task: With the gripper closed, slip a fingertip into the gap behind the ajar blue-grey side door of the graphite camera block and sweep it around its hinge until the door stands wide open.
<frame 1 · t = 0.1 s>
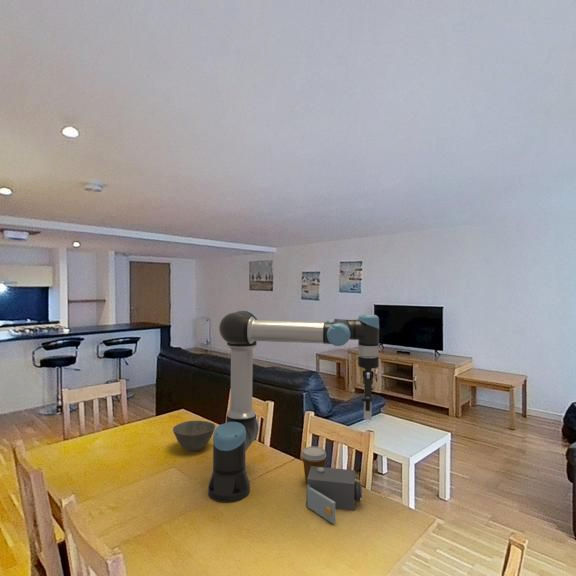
hand: (367, 413, 148), 28 cm above the table, fingers open, 13 cm apart
disposable coffee cup: (313, 482, 152), on the table
bowl: (194, 449, 182), on the table
camera block: (331, 500, 140), on the table
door: (319, 503, 130), point 4 cm above the table, hinge at 40.0°
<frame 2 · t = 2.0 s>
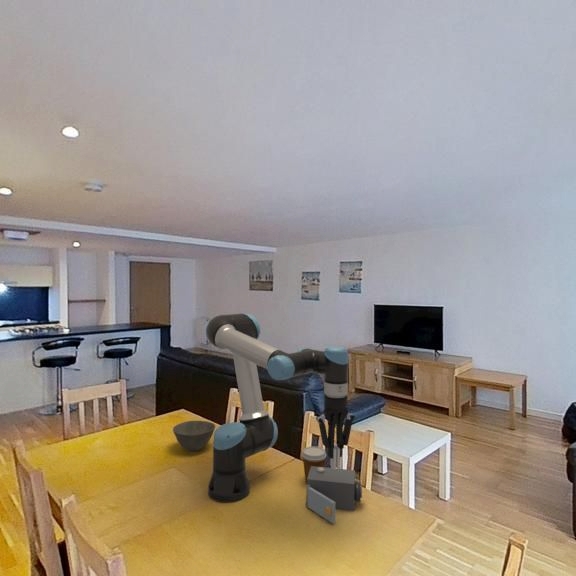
hand: (334, 467, 129), 16 cm above the table, fingers closed
nothing on the table moved.
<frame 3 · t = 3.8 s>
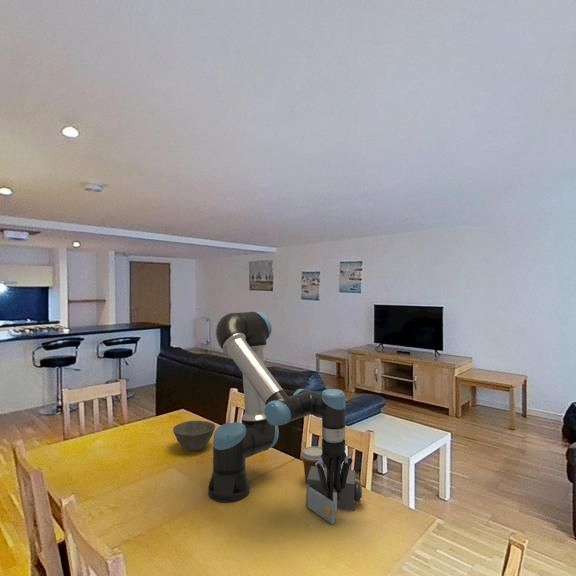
hand: (333, 510, 129), 2 cm above the table, fingers closed
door: (319, 503, 130), point 4 cm above the table, hinge at 41.6°, touching gripper
everything else where it was.
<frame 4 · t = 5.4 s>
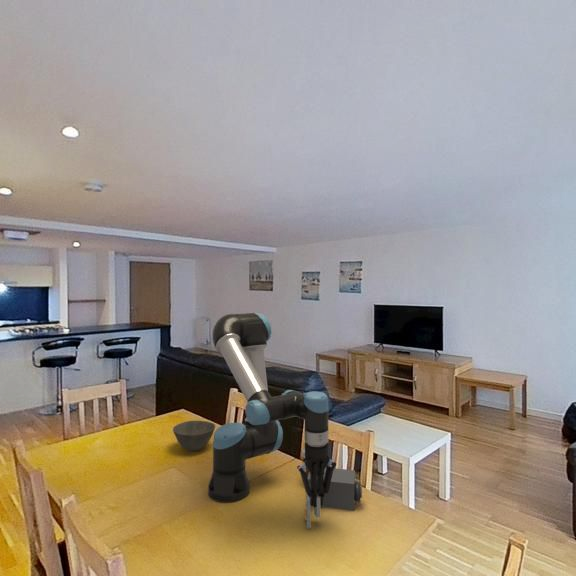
hand: (317, 515, 127), 2 cm above the table, fingers closed
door: (307, 505, 129), point 4 cm above the table, hinge at 81.3°, touching gripper
everything else where it was.
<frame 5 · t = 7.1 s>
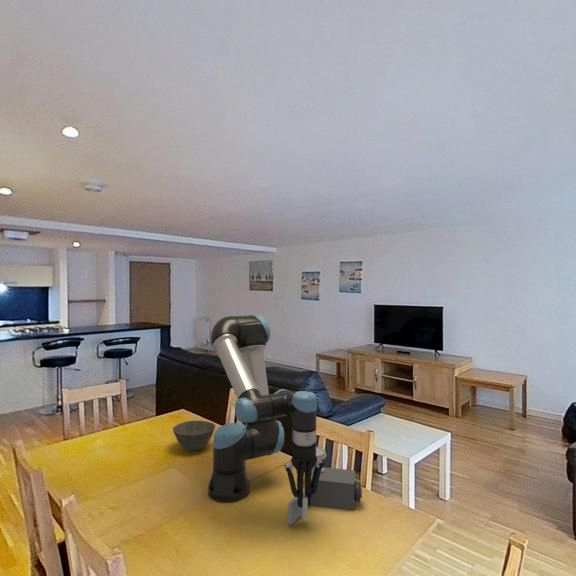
hand: (303, 516, 126), 2 cm above the table, fingers closed
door: (299, 503, 130), point 4 cm above the table, hinge at 109.8°
everything else where it was.
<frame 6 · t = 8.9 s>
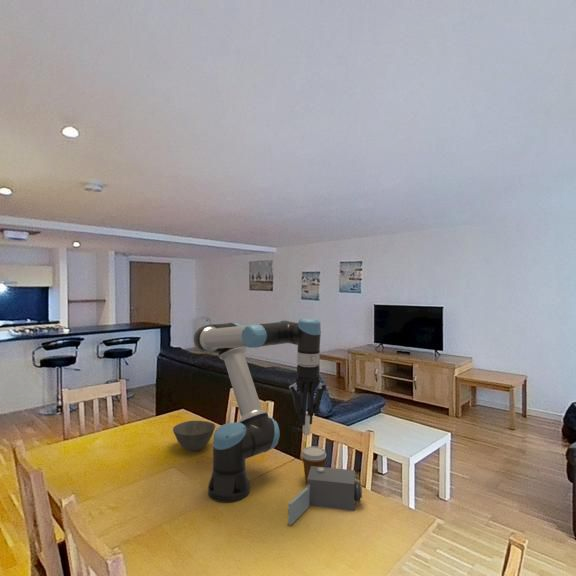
hand: (305, 433, 135), 25 cm above the table, fingers closed
nothing on the table moved.
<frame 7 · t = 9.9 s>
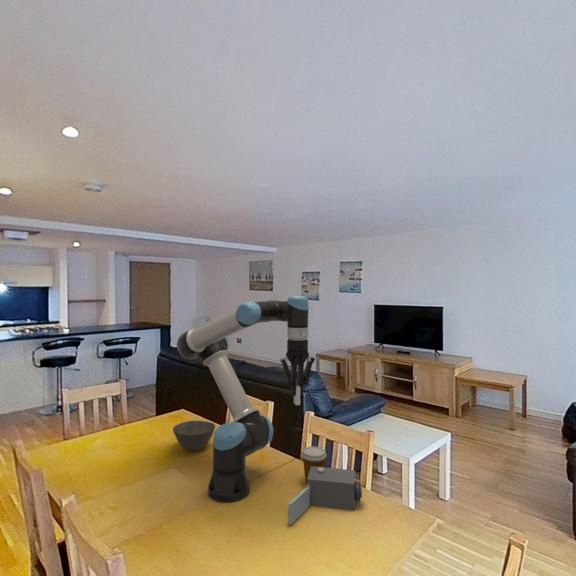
hand: (296, 403, 144), 32 cm above the table, fingers closed
nothing on the table moved.
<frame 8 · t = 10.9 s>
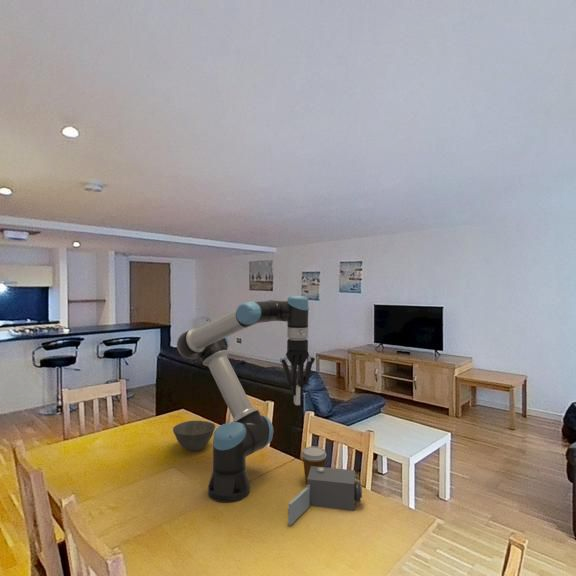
hand: (296, 403, 144), 32 cm above the table, fingers closed
nothing on the table moved.
at the end: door at +110° (first picture: +40°) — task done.
